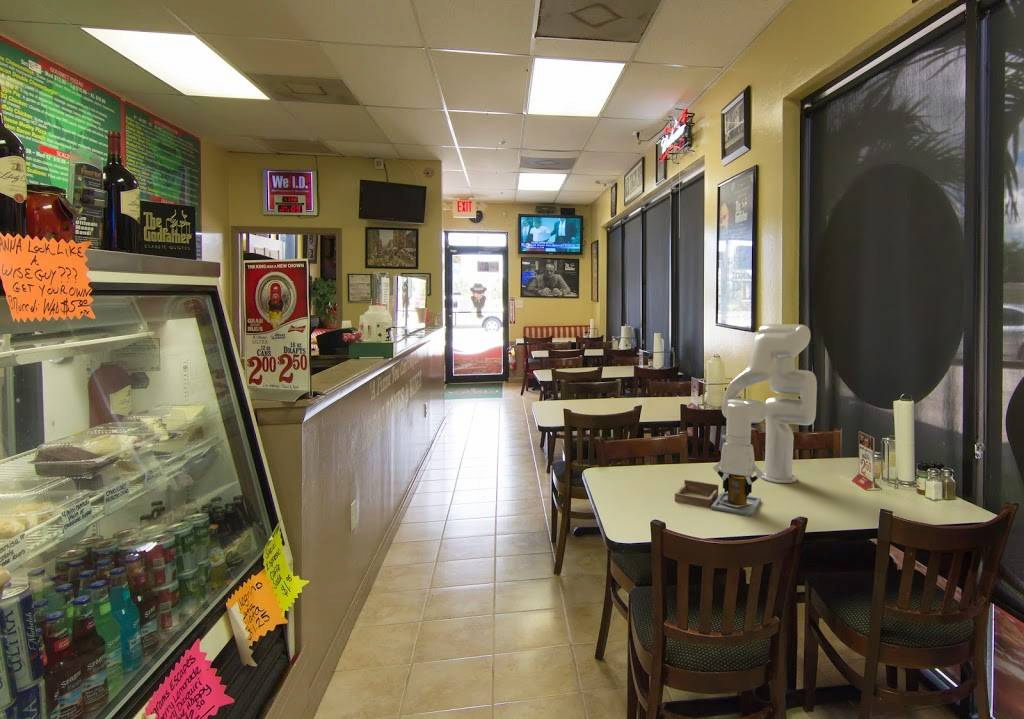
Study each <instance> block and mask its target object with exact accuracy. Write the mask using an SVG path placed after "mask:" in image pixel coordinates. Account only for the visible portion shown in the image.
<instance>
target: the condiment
mask: <svg viewBox="0 0 1024 719" xmlns="http://www.w3.org/2000/svg"><path fill="white" fill-rule="evenodd" d="M746 484H747V479H746V477H745V476H739V475H732V474H729V475H728V491H727V493H728V497H727V499H726V500H722V501H718V502H720V503H723V504H726V505H729V506H733V507H737V508H738V507H741V506H745V505H749V504H752V503H750V502H747V496H746Z"/></svg>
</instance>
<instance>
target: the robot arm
mask: <svg viewBox="0 0 1024 719" xmlns="http://www.w3.org/2000/svg"><path fill="white" fill-rule="evenodd" d="M757 332H758V334H757V335H756V336H755V337H754V339H753V342H752V345H751V350H750V353H749V357H748V359H747V364H746V366H745V367H746V368H745V369H744V370H743V372H741V373H739V374H738V375H737V376H736V377H735V378H734V379H733V380H731V382H730V383H729V384H728V385H727V388H726V389H725V392H724V396H723V399H722V404H721V412H722V415H723V417H724V418H726V427H725V428H726V431H725V432H726V433H725V434H721V439H722V440H725V442H723V443H722V448H721V455H720V461H719V462H717V463H716V464H715V465H713V467H712V469H713V470H714V472H716V473H717V474H718V475H719V477H720V478H721V480H722V489H723V490H724V491H723V492H727V493H728V475H729V474H732V475H739V476H745V477H746V479H747V484H746V496H749V495H750V494H751V493H752V491H753V490H752V485H753V483H755V482H756V481H757V480H758V479H760V478H761V479H763V480H765V481H768V482H770V483H771V482H772V483H778V484H790V483H791V484H792V483H795V482H797V476H796V475H795V474H793V464H794V463H793V460H794V459H793V458H794V432H793V430H792V428H791V427H790V425H791V424H792V425H799V426H810V425H813V424H814V422H815V420H816V416H817V392H818V391H817V390H818V385H817V384H818V382H817V377H816V375H815V373H814V372H812V371H811V370H807V369H806V370H805V369H804V370H803V369H796V367H795V357H797V356H798V355H799V354H800V353H801V352H802V351H804V350H805V349H806V347H808V345H809V344H810V341H811V338H812V337H811V329H810V328H809V327H808V326H807V325H805V324H794V323H793V324H791V323H790V324H785V323H774V324H773V323H770V324H769V323H768V324H763V325H761V326H760V327H759V328H758V331H757ZM765 381H768V384H769V385H768V386H769V389H770V391H771V392H773V393H775V394H779V395H780V394H781V395H789V396H799V397H800V398H794V397H793V398H792V397H785V396H783V397H782V396H772V397H769V398H767V399H766V401H764V402H763V401H761V400H757V399H755V400H754V399H748V398H740V397H739V398H738V396H739V394H740V393H741V391H743V390H744V389H746V388H748V387H750V386H754V385H757V384H759V383H762V382H765ZM763 421H765V453H764V454H765V459H764V471H762V470H761V469H760V468H759V467H758V466H757V465H756V464H755V461H756V460H755V452H754V446H753V444H751V442H752V441H751V440H752V424H759V423H761V422H763ZM789 424H790V425H789ZM754 473H756V474H755V475H753V474H754Z"/></svg>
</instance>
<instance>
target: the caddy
mask: <svg viewBox="0 0 1024 719" xmlns="http://www.w3.org/2000/svg"><path fill="white" fill-rule="evenodd" d="M683 481H684V482H683V483H684V484H682V486H681V487H680V488H679V489H678V490H677V491H676V492H674V501H675V502H678V501H679V503H685V504H689V503H690V504H691V505H695V506H701V507H706V508H711V506H712V504H713V503H714V502H715V499H717V498H718V496H719V486H720V485H719V484H716V483H709V482H703V481H696V480H691V479H684V480H683ZM688 491H689V493H694V492H695V494H699V493H700V495H705V494H707V495H708V496H709V497H708V498H705V497H701V496H694V495H688V494H686V493H687V492H688Z"/></svg>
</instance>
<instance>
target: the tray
mask: <svg viewBox="0 0 1024 719" xmlns="http://www.w3.org/2000/svg"><path fill="white" fill-rule="evenodd" d="M727 497H728V491H727V492H724V491H721V492H720V494H718V497H717V498H716V500H715V501H714V502H713V503H712V505H711V506H710V508H711V510H712V511H718V510H719V511H718V512H723V511H726V512H725V513H729V512H731V513H730V514H734V513H736V514H735V515H740V514H742V515H741V516H745V515H748V516H747V517H750V516H753V517H754V515H755V513H756V511H757V510H758V508H757V507H759V506H758V505H760V504H761V502H760V501H762V498H761V497H757V496H751V495H750V496H749V495H748V496H747V502H750V503H752V504H749V505H745V506H741V507H738V508H737V507H733V506H729V505H726V504H723V503H720V502H718V501H722V500H726V499H727ZM759 503H760V504H759Z"/></svg>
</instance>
